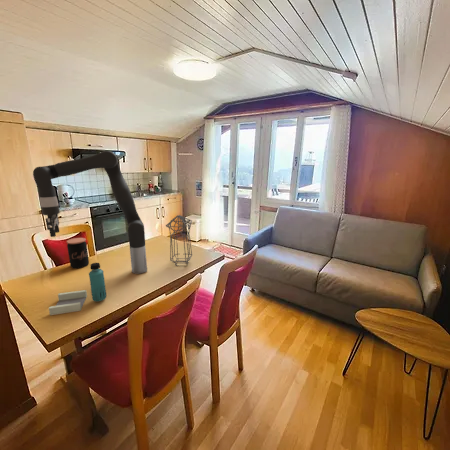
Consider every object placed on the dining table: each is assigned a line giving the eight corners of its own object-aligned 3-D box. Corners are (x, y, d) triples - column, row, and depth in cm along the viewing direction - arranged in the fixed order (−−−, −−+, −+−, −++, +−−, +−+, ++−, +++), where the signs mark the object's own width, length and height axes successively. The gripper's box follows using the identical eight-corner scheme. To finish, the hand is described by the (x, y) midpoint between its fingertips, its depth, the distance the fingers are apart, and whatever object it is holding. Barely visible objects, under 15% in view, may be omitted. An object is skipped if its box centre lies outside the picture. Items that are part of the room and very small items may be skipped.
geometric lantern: (190, 268, 152) (188, 218, 143) (167, 268, 153) (163, 217, 144) (194, 259, 168) (192, 212, 158) (173, 259, 168) (170, 212, 159)
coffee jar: (72, 270, 146) (67, 243, 141) (69, 265, 154) (65, 239, 149) (90, 266, 153) (87, 240, 148) (87, 261, 160) (84, 236, 156)
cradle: (87, 295, 118) (86, 289, 117) (80, 310, 106) (79, 304, 105) (59, 299, 114) (58, 293, 114) (49, 315, 103) (48, 308, 102)
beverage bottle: (100, 305, 111) (96, 267, 106) (89, 303, 112) (83, 265, 107) (110, 297, 117) (105, 261, 112) (98, 296, 118) (94, 260, 113)
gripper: (55, 207, 116) (60, 237, 120) (61, 202, 129) (66, 230, 133) (36, 208, 113) (43, 239, 117) (44, 203, 126) (50, 231, 130)
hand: (55, 234), depth 125 cm, fingers open, 8 cm apart
